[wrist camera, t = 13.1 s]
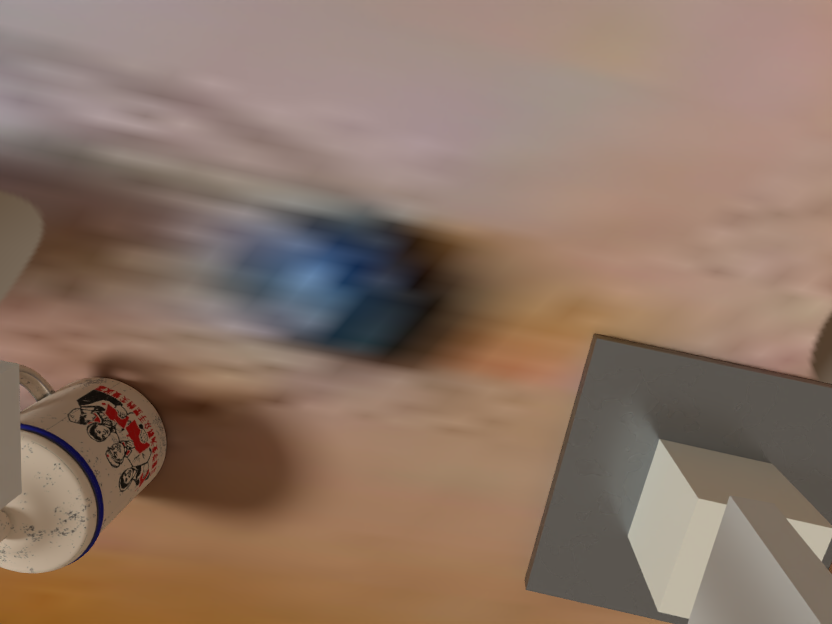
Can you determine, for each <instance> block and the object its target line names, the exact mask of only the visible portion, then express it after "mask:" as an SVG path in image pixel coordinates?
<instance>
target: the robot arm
mask: <svg viewBox="0 0 832 624" xmlns="http://www.w3.org/2000/svg"><path fill="white" fill-rule="evenodd" d="M21 493H22V482H21V432H20V383H19V364H17V363H11V362H6V361H0V510H1V509H2V508H3V507H4V506H6V505H7V504H8V503H10V502H11V501H12V500H13V499H15V498H16V497H17V496H19V495H20V494H21ZM688 624H832V574H831V573H830V572H829V570H828V569H827V568H826V567H825V565H824V564H823V563H822V562H821V561H820V559H819V558H818V557H817V556H816V554H815V553H814V552H813V551H812V550H811V548H810V547H809V546H808V545H807V543H806V542H805V541H804V540H803V538H802V537H801V536H800V535H799V534H798V532H797V531H796V530H795V529H794V527H793V526H792V525H791V524H790V523H789V521H788V520H787V519H786V518H785V516H784V515H783V514H782V513H781V511H780V510H779V509H778V508H777V507H776V505H775V504H774V503H769V502H764V501H758V500H753V499H747V498H742V497H737V496H731V495H730V497H729V500H728V503H727V506H726V509H725V512H724V515H723V518H722V521H721V524H720V527H719V530H718V533H717V536H716V539H715V542H714V545H713V548H712V551H711V554H710V557H709V560H708V563H707V566H706V569H705V572H704V575H703V578H702V581H701V584H700V587H699V590H698V593H697V596H696V599H695V602H694V605H693V608H692V611H691V614H690V617H689V621H688Z"/></svg>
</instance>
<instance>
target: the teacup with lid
mask: <svg viewBox="0 0 832 624" xmlns="http://www.w3.org/2000/svg"><path fill="white" fill-rule="evenodd" d="M19 383H20V384H21V385H22V386H23V387H25V388H26V389H27V390H28V391H29V392H30V393H31V395H32V396H33V397H34V398H35V400H36V401H37V402H36V403H35V404H33V405H31V406H29V407H28V408H26V409H24V410H22V411H21V412H20V432H21V482H22V493H21V494H20V495H19V496H17V497H16V498H15V499H13V500H12V501H11V502H10V503H8V504H7V505H6V506H4V507H3V508H2V509H1V510H0V567H2V568H5V569H8V570H12V571H17V572H23V573H42V572H48V571H53V570H56V569H60V568H62V567H64V566H66V565H69V564H71V563H73V562H75V561H76V560H78V559H79V558H81V557H82V556H83V555H84V554H85V553H87V552H88V551H89V549H90V548H91V547H92V546H93V544H94V543H95V541H96V540H97V537H98V535H99V533H100V532H101V531H102V530H103V529H104V528H105V527H106V526H107V525H108V524H109V523H110V522H111V521H112V520H113V519H114V518H115V517H116V516H117V515H118V514H119V513H120V512H121V511H122V510H123V509H124V508H125V507H126V506H127V505H128V504H129V503H130V502H131V501H132V500H133V499H134V498H135V497H136V496H137V495H138V494H139V493H140V492H141V491H142V490H143V489H144V488H145V487H146V486H147V485H148V484H149V483H150V482H151V481H152V480H153V478H154V477H155V476H156V475H157V473H158V472H159V470H160V469H161V467H162V465H163V462H164V459H165V455H166V444H167V442H166V434H165V429H164V426H163V423H162V420H161V418H160V416H159V414H158V413H157V411H156V410H155V408H154V407H153V405H152V404H151V403H150V402H149V401H148V400H147V399H146V398H145V397H144V396H143V395H142V394H141V393H139V392H138V391H137V390H135V389H134V388H132V387H130V386H129V385H127V384H124V383H122V382H120V381H117V380H113V379H108V378H99V377H93V378H85V379H81V380H77V381H75V382H72V383H70V384H68V385H66V386H65V387H63V388H61V389H59V390H58V391H56V392H55V391H54V390H53V388H52V387H51V386H50V385H49V383H48V382H47V381H46V380H45V379H44V378H43V377H42V376H41V375H40V374H38V373H37V372H36V371H34V370H33V369H31V368H29V367H26V366H23V365H20V364H19Z"/></svg>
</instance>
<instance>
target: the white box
mask: <svg viewBox="0 0 832 624" xmlns="http://www.w3.org/2000/svg"><path fill="white" fill-rule="evenodd" d="M730 495H731V496H737V497H742V498H747V499H753V500H758V501H764V502H769V503H774V504H775V505H776V507H777V508H778V509H779V510H780V511H781V513H782V514H783V515H784V516H785V518H786V519H787V520H788V521H789V523H790V524H791V525H792V526H793V527H794V529H795V530H796V531H797V532H798V534H799V535H800V536H801V537H802V538H803V540H804V541H805V542H806V543H807V545H808V546H809V547H810V548H811V550H812V551H813V552H814V553H815V554H816V556H817V557H818V558H819V559H820V561H821V562H822V560H823V557H824V555H825V553H826V550H827V548H828V546H829V543H830V541H831V538H832V525H831V524H830V523H829V522H828V521H827V520H826V519H825V518H824V517H823V516H822V515H821V514H820V513H819V512H818V511H817V510H816V508H815V507H814V506H813V505H812V504H811V503H810V502H809V501H808V500H807V499H806V498H805V497H804V496H803V495H802V494H801V493H800V492H799V491H798V490H797V489H796V488H795V487H794V486H793V485H792V484H791V483H790V482H789V481H788V479H787V478H786V477H785V476H784V475H783V474H782V473H781V472H780V471H779V470H778V469H777V468H776V467H775V466H774V465H773V464H771V463H766V462H762V461H757V460H753V459H748V458H744V457H739V456H735V455H730V454H726V453H721V452H717V451H712V450H708V449H703V448H698V447H694V446H689V445H685V444H680V443H676V442H671V441H667V440H662V439H659V442H658V445H657V448H656V451H655V454H654V457H653V460H652V463H651V466H650V469H649V472H648V475H647V478H646V481H645V484H644V487H643V491H642V494H641V497H640V500H639V503H638V506H637V509H636V512H635V515H634V518H633V521H632V524H631V527H630V530H629V533H628V538H629V541H630V543H631V546H632V548H633V551H634V553H635V556H636V558H637V561H638V563H639V566H640V568H641V571H642V573H643V575H644V578H645V580H646V583H647V585H648V588H649V590H650V593H651V595H652V598H653V600H654V603H655V605H656V608H657V610H658V612H661V613H666V614H670V615H674V616H679V617H683V618H687V619H689V617H690V614H691V611H692V608H693V605H694V602H695V599H696V596H697V593H698V590H699V587H700V584H701V581H702V578H703V575H704V572H705V569H706V566H707V563H708V560H709V557H710V554H711V551H712V548H713V545H714V542H715V539H716V536H717V533H718V530H719V527H720V524H721V521H722V518H723V515H724V512H725V509H726V506H727V503H728V500H729V497H730Z"/></svg>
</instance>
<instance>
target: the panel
mask: <svg viewBox="0 0 832 624" xmlns="http://www.w3.org/2000/svg"><path fill="white" fill-rule="evenodd" d="M659 439H662V440H667V441H671V442H676V443H680V444H685V445H689V446H694V447H698V448H703V449H708V450H712V451H717V452H721V453H726V454H730V455H735V456H739V457H744V458H748V459H753V460H757V461H762V462H766V463H771V464H773V465H774V466H775V467H776V468H777V469H778V470H779V471H780V472H781V473H782V474H783V475H784V476H785V477H786V478H787V479H788V481H789V482H790V483H791V484H792V485H793V486H794V487H795V488H796V489H797V490H798V491H799V492H800V493H801V494H802V495H803V496H804V497H805V498H806V499H807V500H808V501H809V502H810V503H811V504H812V505H813V506H814V507H815V508H816V510H817V511H818V512H819V513H820V514H821V515H822V516H823V517H824V518H825V519H826V520H827V521H828V522H829V523H830V524H831V525H832V384H828V383H824V382H819V381H814V380H810V379H805V378H800V377H795V376H791V375H786V374H781V373H777V372H772V371H767V370H762V369H758V368H753V367H748V366H744V365H739V364H734V363H729V362H725V361H720V360H715V359H711V358H706V357H701V356H697V355H692V354H687V353H682V352H678V351H673V350H668V349H664V348H659V347H654V346H649V345H645V344H640V343H635V342H631V341H626V340H621V339H616V338H612V337H607V336H602V335H598V334H594V335H593V339H592V342H591V346H590V350H589V353H588V357H587V360H586V364H585V367H584V371H583V374H582V378H581V382H580V385H579V389H578V392H577V396H576V399H575V403H574V406H573V410H572V414H571V417H570V421H569V424H568V428H567V431H566V435H565V438H564V442H563V446H562V449H561V453H560V456H559V460H558V463H557V467H556V471H555V474H554V478H553V481H552V485H551V488H550V492H549V495H548V499H547V503H546V506H545V510H544V513H543V517H542V520H541V524H540V527H539V531H538V535H537V538H536V542H535V545H534V549H533V552H532V556H531V560H530V563H529V567H528V570H527V574H526V577H525V586H526V590H529V591H534V592H538V593H542V594H547V595H551V596H556V597H560V598H564V599H569V600H573V601H577V602H582V603H586V604H591V605H595V606H599V607H604V608H608V609H612V610H617V611H621V612H626V613H630V614H634V615H639V616H643V617H647V618H652V619H656V620H661V621H665V622H669V623H674V624H688V621H689V619H687V618H683V617H679V616H674V615H670V614H666V613H661V612H658V610H657V608H656V605H655V603H654V600H653V598H652V595H651V593H650V590H649V588H648V585H647V583H646V580H645V578H644V575H643V573H642V571H641V568H640V566H639V563H638V561H637V558H636V556H635V553H634V551H633V548H632V546H631V543H630V541H629V538H628V533H629V530H630V527H631V524H632V521H633V518H634V515H635V512H636V509H637V506H638V503H639V500H640V497H641V494H642V491H643V487H644V484H645V481H646V478H647V475H648V472H649V469H650V466H651V463H652V460H653V457H654V454H655V451H656V448H657V445H658V442H659ZM831 562H832V538H831V541H830V543H829V546H828V548H827V550H826V553H825V555H824V557H823V560H822V563H823V564H824V565H825V567H826V568H827V569H829V567H830V565H831Z"/></svg>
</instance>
